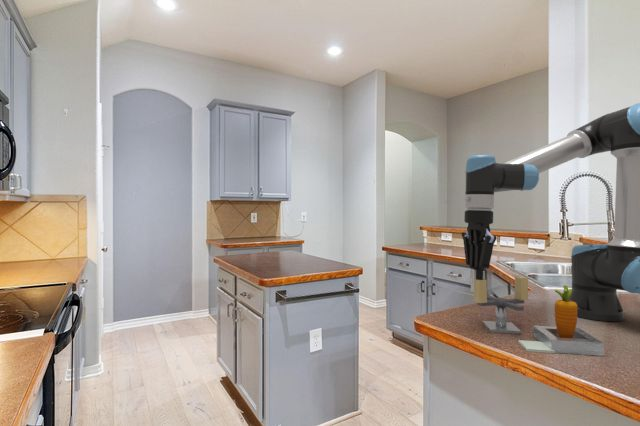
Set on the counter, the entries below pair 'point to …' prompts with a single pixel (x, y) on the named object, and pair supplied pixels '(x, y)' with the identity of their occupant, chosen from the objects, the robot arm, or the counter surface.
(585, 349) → the gray square frame
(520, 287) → the handwheel
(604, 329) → the counter surface
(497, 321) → the square base pedestal
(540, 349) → the pad
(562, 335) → the carrot
